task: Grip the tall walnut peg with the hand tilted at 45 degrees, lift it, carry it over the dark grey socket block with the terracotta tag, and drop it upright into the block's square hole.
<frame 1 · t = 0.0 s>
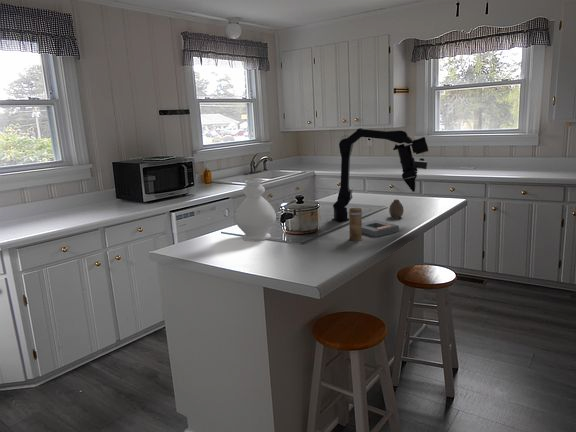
hand: (414, 189, 214), 15 cm above the countertop, tool pointing down, fingers open, 9 cm apart
socket block: (375, 230, 206), on the countertop
decorative vase: (256, 237, 203), on the countertop
walnut peg: (355, 239, 194), on the countertop
vase: (396, 217, 229), on the countertop
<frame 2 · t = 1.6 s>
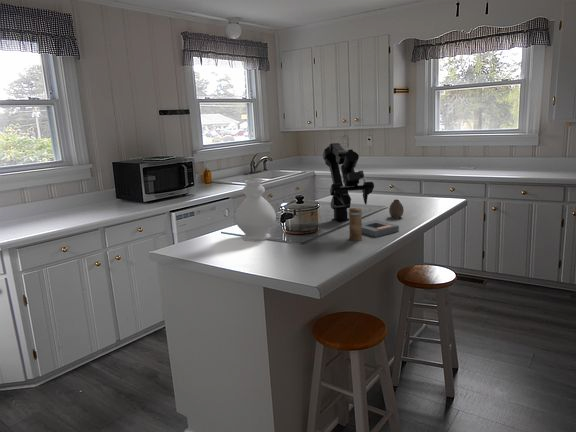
hand: (355, 204, 199), 13 cm above the countertop, tool tilted 45°, fingers open, 9 cm apart
nothing on the countertop moved.
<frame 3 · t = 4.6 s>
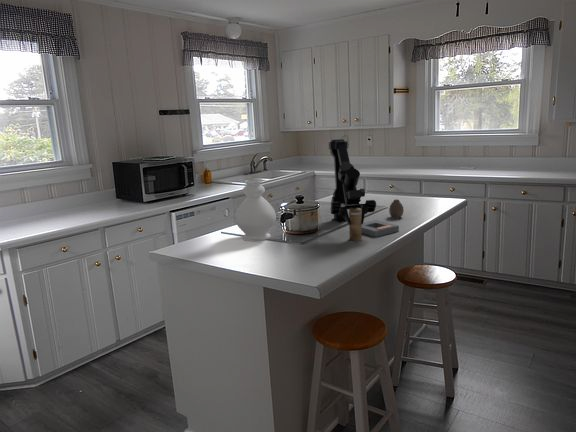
hand: (356, 224, 191), 7 cm above the countertop, tool tilted 45°, fingers closed on walnut peg, 5 cm apart
walnut peg: (355, 239, 194), on the countertop, touching gripper
everything else where it was.
when the fingers open (8 cm above the countertop, at t = 8.2 s): walnut peg drops 2 cm, resting in socket block.
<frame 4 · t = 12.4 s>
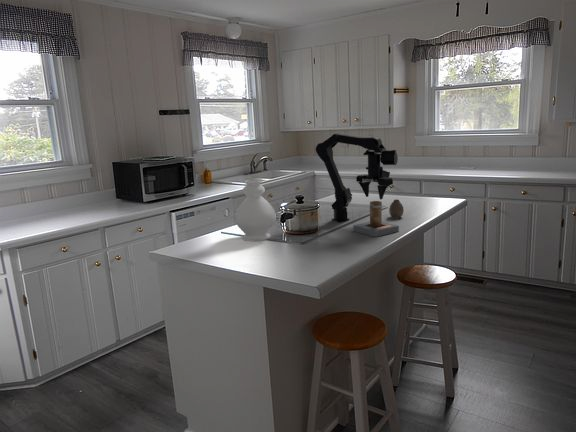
hand: (374, 198, 217), 12 cm above the countertop, tool pointing down, fingers open, 9 cm apart
walnut peg: (375, 230, 206), resting in socket block
everything else where it was.
at the end: walnut peg 0.1 cm off-centre on the socket block, point 0.0 cm above the socket block's base; walnut peg tilted 0°; the gripper is holding nothing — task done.
